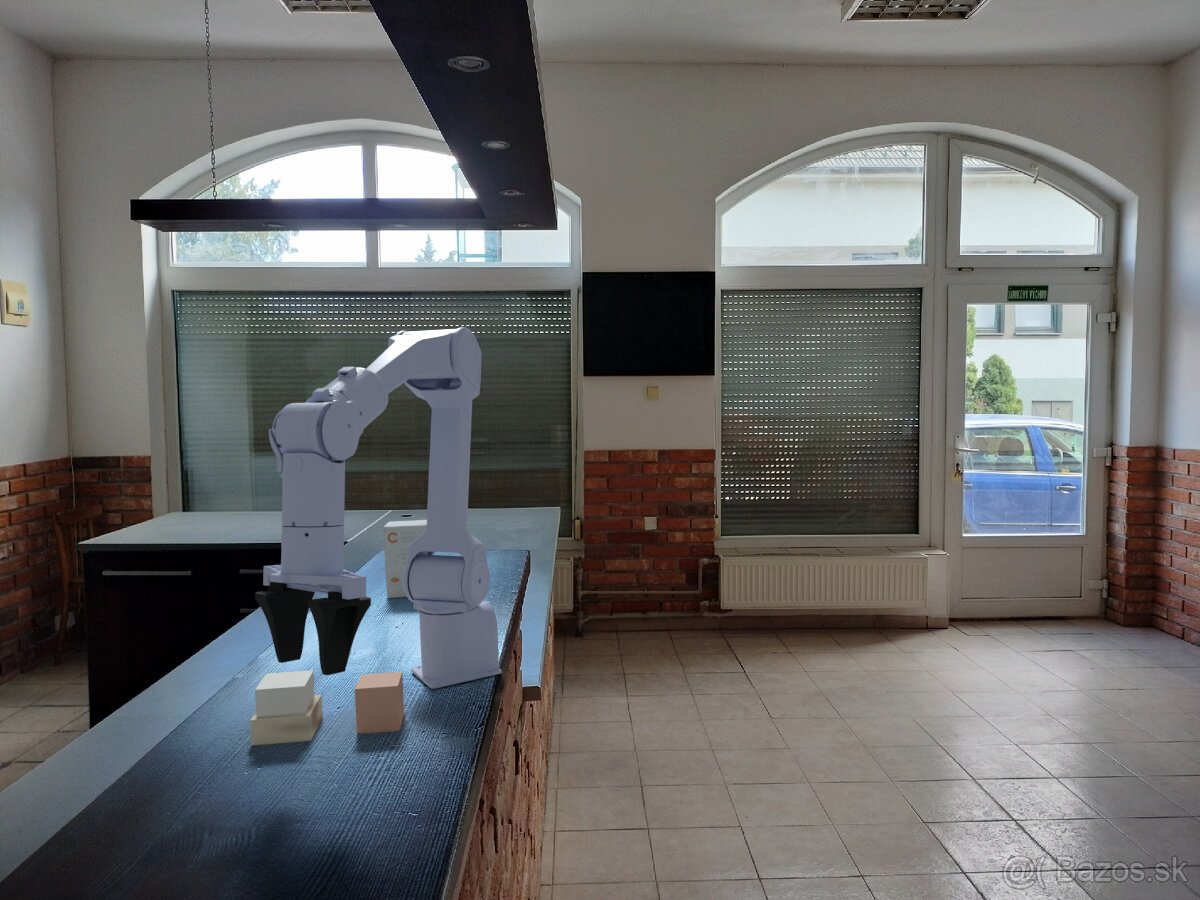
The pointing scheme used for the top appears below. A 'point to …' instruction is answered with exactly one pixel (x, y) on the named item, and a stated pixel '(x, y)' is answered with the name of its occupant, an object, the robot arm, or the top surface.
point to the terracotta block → (379, 702)
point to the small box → (399, 552)
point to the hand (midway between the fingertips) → (310, 666)
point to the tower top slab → (285, 693)
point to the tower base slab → (287, 726)
